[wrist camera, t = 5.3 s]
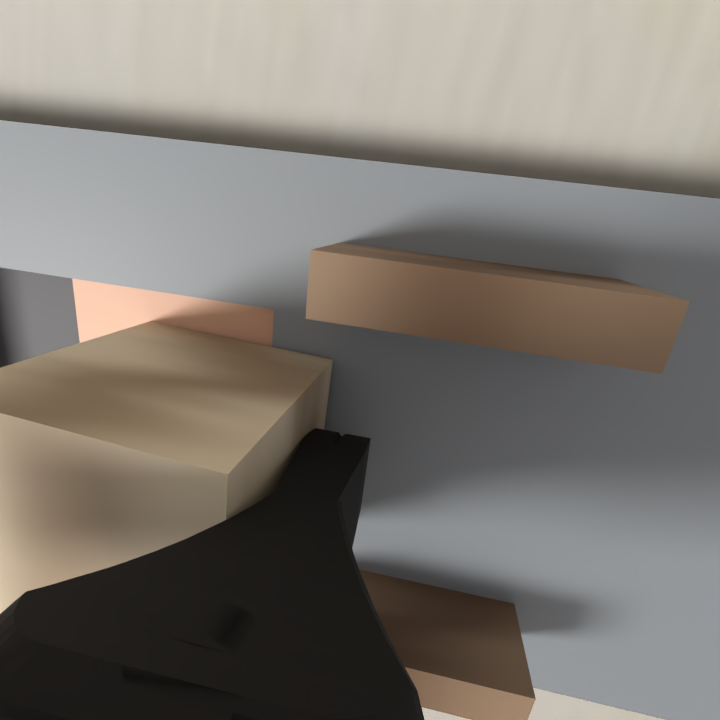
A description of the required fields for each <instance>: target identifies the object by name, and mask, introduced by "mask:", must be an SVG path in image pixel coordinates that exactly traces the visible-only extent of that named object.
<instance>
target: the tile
mask: <svg viewBox="0 0 720 720" xmlns="http://www.w3.org/2000/svg"><path fill="white" fill-rule="evenodd" d="M72 281H73V290H74V298H75V307H76V316H77V324H78V333H79V341H80V343H81V342H85V341H88V340H91V339H94V338H98V337H101V336H104V335H107V334H110V333H114V332H117V331H120V330H123V329H127V328H130V327H133V326H136V325H139V324H143V323H146V322H149V321H152V322H157V323H163V324H167V325H172V326H177V327H181V328H186V329H191V330H195V331H200V332H205V333H210V334H214V335H219V336H224V337H228V338H233V339H238V340H242V341H247V342H252V343H256V344H261V345H266V346H270V347H272V338H273V317H274V309H268V308H261V307H255V306H248V305H242V304H235V303H229V302H222V301H216V300H209V299H203V298H196V297H190V296H183V295H177V294H170V293H164V292H157V291H151V290H144V289H138V288H131V287H125V286H118V285H112V284H105V283H99V282H92V281H85V280H79V279H72Z"/></svg>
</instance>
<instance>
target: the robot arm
mask: <svg viewBox="0 0 720 720" xmlns="http://www.w3.org/2000/svg"><path fill="white" fill-rule="evenodd" d="M370 440H371V438H367V437H361V436H356V435H350V434H345V435H343V436H341V435H340V433H339V432H334V431H329V430H323V429H318V428H315V429H313V430H312V431H310V432H309V433H308V434H307V435H306V436H305V437H304V438H303V439H302V441H301V443H300V445H299V447H298V449H297V451H296V452H295V454H294V456H293V458H292V461H291V463H290V465H289V467H288V469H287V471H286V473H285V475H284V477H283V479H282V481H281V483H280V485H279V487H278V488H277V490H276V491H274V492H273V493H271V494H270V495H268V496H267V497H265V498H264V499H262V500H261V501H259V502H257V503H256V504H254V505H252V506H251V507H249V508H247V509H246V510H244V511H242V512H240V513H239V514H237V515H235V516H233V517H231V518H229V519H227V520H225V521H223V522H221V523H218V524H216V525H214V526H212V527H210V528H208V529H206V530H204V531H201V532H199V533H197V534H195V535H193V536H191V537H189V538H186V539H184V540H182V541H179V542H177V543H174V544H172V545H169V546H167V547H164V548H162V549H159V550H157V551H154V552H151V553H149V554H146V555H143V556H140V557H138V558H135V559H132V560H129V561H127V562H124V563H121V564H118V565H115V566H112V567H109V568H106V569H102V570H99V571H95V572H92V573H89V574H85V575H82V576H79V577H75V578H72V579H68V580H65V581H62V582H58V583H55V584H52V585H48V586H45V587H41V588H37V589H34V590H30V591H26V592H25V593H24V594H23V595H21V596H20V597H19V598H18V599H17V600H15V601H14V602H13V603H12V604H11V605H10V606H9V607H7V608H6V609H5V610H4V611H3V612H2V613H1V614H0V720H424V716H423V712H422V708H421V704H420V699H419V695H418V691H417V689H416V687H415V685H414V683H413V681H412V680H411V678H410V676H409V674H408V673H407V671H406V669H405V667H404V665H403V664H402V662H401V660H400V658H399V656H398V654H397V652H396V650H395V649H394V647H393V645H392V643H391V641H390V639H389V637H388V635H387V633H386V631H385V629H384V627H383V625H382V622H381V620H380V618H379V616H378V614H377V612H376V610H375V608H374V605H373V603H372V600H371V598H370V595H369V593H368V590H367V588H366V585H365V583H364V580H363V578H362V575H361V573H360V570H359V568H358V565H357V562H356V559H355V556H354V553H353V550H352V547H353V543H354V538H355V533H356V529H357V524H358V519H359V515H360V510H361V504H362V497H363V490H364V482H365V475H366V468H367V461H368V454H369V447H370Z"/></svg>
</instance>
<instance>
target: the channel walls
mask: <svg viewBox="0 0 720 720" xmlns="http://www.w3.org/2000/svg"><path fill="white" fill-rule="evenodd" d="M689 304H690V301H688V300H684V299H681V298H678V297H675V296H672V295H668V294H665V293H662V292H659V291H655V290H652V289H649V288H646V287H643V286H639V285H636V284H633V283H630V282H627V281H623V280H620V279H613V278H605V277H598V276H590V275H582V274H575V273H567V272H560V271H552V270H545V269H537V268H530V267H522V266H515V265H507V264H499V263H492V262H484V261H477V260H469V259H462V258H454V257H447V256H439V255H432V254H424V253H416V252H409V251H401V250H394V249H386V248H379V247H371V246H364V245H356V244H349V243H341V242H340V243H336V244H332V245H328V246H324V247H320V248H316V249H312V250H311V251H310V265H309V278H308V292H307V305H306V319H311V320H317V321H324V322H330V323H337V324H343V325H350V326H356V327H363V328H369V329H376V330H382V331H388V332H395V333H401V334H408V335H414V336H421V337H427V338H434V339H440V340H447V341H453V342H459V343H466V344H472V345H479V346H485V347H492V348H498V349H505V350H511V351H518V352H524V353H530V354H537V355H543V356H550V357H556V358H563V359H569V360H576V361H582V362H589V363H595V364H601V365H608V366H614V367H621V368H627V369H634V370H640V371H647V372H653V373H660V374H662V373H663V370H664V368H665V365H666V363H667V360H668V358H669V355H670V352H671V350H672V347H673V345H674V342H675V340H676V337H677V334H678V332H679V329H680V327H681V324H682V322H683V319H684V316H685V314H686V311H687V309H688V306H689ZM360 573H361V575H362V578H363V580H364V583H365V585H366V588H367V590H368V593H369V595H370V598H371V600H372V603H373V605H374V608H375V610H376V612H377V614H378V616H379V618H380V620H381V622H382V625H383V627H384V629H385V631H386V633H387V635H388V637H389V639H390V641H391V643H392V645H393V647H394V649H395V650H396V652H397V654H398V656H399V658H400V660H401V662H402V664H403V665H404V667H405V669H406V671H407V673H408V674H409V676H410V678H411V680H412V681H413V683H414V685H415V687H416V689H417V691H418V695H419V699H420V704H421V707H424V708H428V709H432V710H436V711H440V712H444V713H448V714H452V715H455V716H459V717H463V718H467V719H471V720H527V719H528V717H529V714H530V712H531V709H532V707H533V704H534V701H535V695H534V690H533V686H532V681H531V677H530V672H529V668H528V663H527V659H526V654H525V650H524V645H523V641H522V636H521V631H520V627H519V622H518V618H517V613H516V609H515V604H513V603H509V602H504V601H500V600H495V599H491V598H486V597H482V596H477V595H473V594H468V593H464V592H459V591H454V590H450V589H445V588H441V587H436V586H432V585H427V584H423V583H418V582H414V581H409V580H405V579H400V578H396V577H391V576H387V575H382V574H378V573H373V572H368V571H364V570H360Z"/></svg>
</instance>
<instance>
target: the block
mask: <svg viewBox="0 0 720 720" xmlns="http://www.w3.org/2000/svg"><path fill="white" fill-rule="evenodd" d="M332 364H333V360H331V359H327V358H322V357H317V356H313V355H308V354H303V353H299V352H294V351H289V350H284V349H280V348H275V347H270V346H266V345H261V344H256V343H252V342H247V341H242V340H238V339H233V338H228V337H224V336H219V335H214V334H210V333H205V332H200V331H195V330H191V329H186V328H181V327H177V326H172V325H167V324H163V323H157V322H152V321H149V322H146V323H143V324H139V325H136V326H133V327H130V328H127V329H123V330H120V331H117V332H114V333H110V334H107V335H104V336H101V337H98V338H94V339H91V340H88V341H85V342H81V343H78V344H75V345H72V346H69V347H65V348H62V349H59V350H56V351H53V352H49V353H46V354H43V355H40V356H36V357H33V358H30V359H27V360H24V361H20V362H17V363H14V364H11V365H8V366H4V367H1V368H0V614H1V613H2V612H3V611H4V610H5V609H6V608H7V607H9V606H10V605H11V604H12V603H13V602H14V601H15V600H17V599H18V598H19V597H20V596H21V595H23V594H24V593H25V592H26V591H30V590H34V589H37V588H41V587H45V586H48V585H52V584H55V583H58V582H62V581H65V580H68V579H72V578H75V577H79V576H82V575H85V574H89V573H92V572H95V571H99V570H102V569H106V568H109V567H112V566H115V565H118V564H121V563H124V562H127V561H129V560H132V559H135V558H138V557H140V556H143V555H146V554H149V553H151V552H154V551H157V550H159V549H162V548H164V547H167V546H169V545H172V544H174V543H177V542H179V541H182V540H184V539H186V538H189V537H191V536H193V535H195V534H197V533H199V532H201V531H204V530H206V529H208V528H210V527H212V526H214V525H216V524H218V523H221V522H223V521H225V520H227V519H229V518H231V517H233V516H235V515H237V514H239V513H240V512H242V511H244V510H246V509H247V508H249V507H251V506H252V505H254V504H256V503H257V502H259V501H261V500H262V499H264V498H265V497H267V496H268V495H270V494H271V493H273V492H274V491H276V490H277V488H278V487H279V485H280V483H281V481H282V479H283V477H284V475H285V473H286V471H287V469H288V467H289V465H290V463H291V461H292V458H293V456H294V454H295V452H296V451H297V449H298V447H299V445H300V443H301V441H302V439H303V438H304V437H305V436H306V435H307V434H308V433H309V432H310V431H312V430H313V429H315V428H318V429H323V430H324V426H325V418H326V410H327V402H328V395H329V387H330V379H331V371H332Z"/></svg>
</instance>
